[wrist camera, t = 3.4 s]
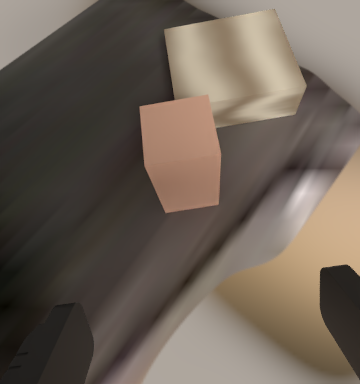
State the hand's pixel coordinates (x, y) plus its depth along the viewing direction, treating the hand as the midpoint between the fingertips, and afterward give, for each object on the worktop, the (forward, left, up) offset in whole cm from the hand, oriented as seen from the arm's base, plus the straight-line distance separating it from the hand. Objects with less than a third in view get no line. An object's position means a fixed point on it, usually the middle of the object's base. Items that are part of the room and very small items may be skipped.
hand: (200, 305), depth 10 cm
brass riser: (+6, +23, -15) cm, 28 cm away
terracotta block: (0, +12, -15) cm, 19 cm away
